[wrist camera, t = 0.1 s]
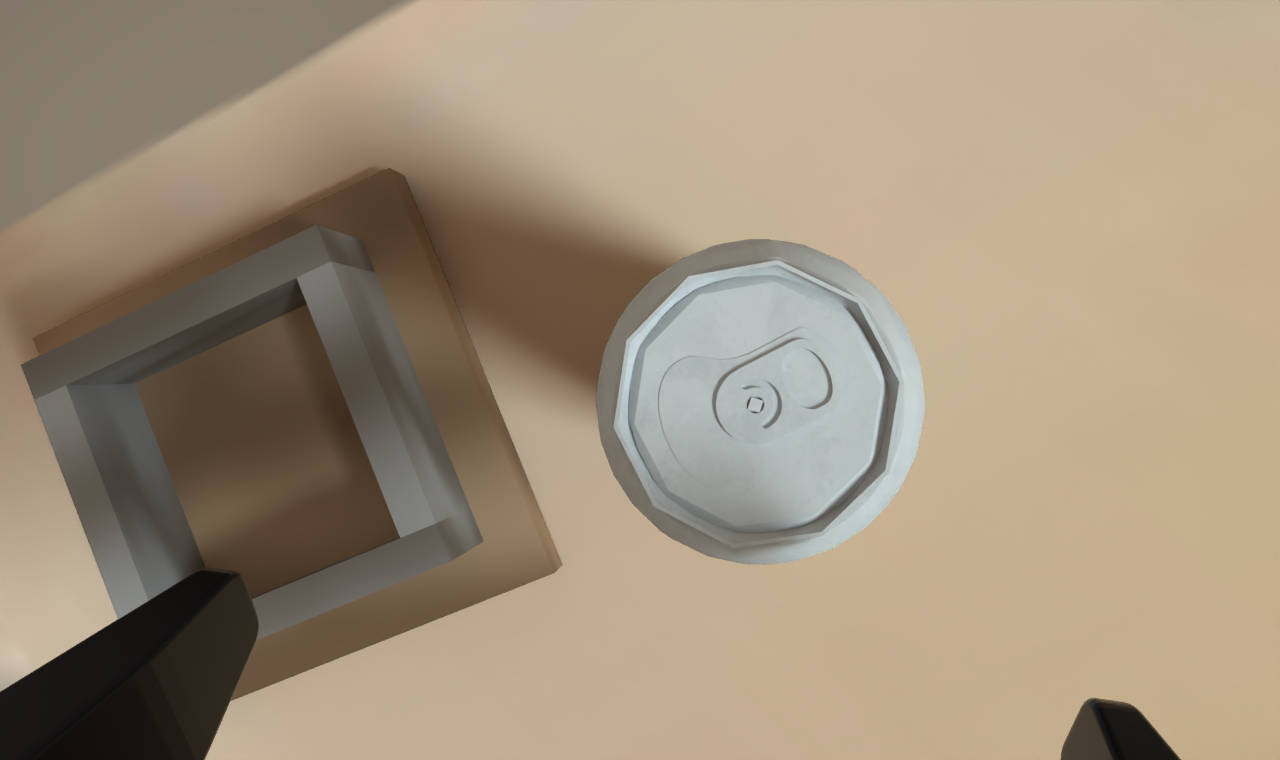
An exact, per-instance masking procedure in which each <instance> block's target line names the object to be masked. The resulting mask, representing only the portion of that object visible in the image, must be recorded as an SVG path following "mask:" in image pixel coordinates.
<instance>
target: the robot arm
mask: <svg viewBox="0 0 1280 760" xmlns="http://www.w3.org/2000/svg"><path fill="white" fill-rule="evenodd" d="M258 631H259V619H258V616H257V613H256V610H255V607H254V604H253V601H252V598H251V596H250V593H249V590H248V587H247V584H246V581H245V579H244V577H243V576H242V575H241V574H240V573H239V572H236V571H232V570H225V569H218V568H203V569H200V570H198V571H196V572H194V573H193V574H191V575H189V576H188V577H186V578H184V579H183V580H181V581H180V582H178V583H176V584H175V585H173V586H171V587H170V588H168V589H167V590H165V591H163V592H162V593H160V594H158V595H157V596H155V597H154V598H152V599H150V600H149V601H147V602H145V603H144V604H142V605H141V606H139V607H137V608H136V609H134V610H132V611H131V612H129V613H128V614H126V615H124V616H123V617H121V618H119V619H118V620H116V621H115V622H113V623H111V624H110V625H108V626H106V627H105V628H103V629H102V630H100V631H98V632H97V633H95V634H93V635H92V636H90V637H89V638H87V639H85V640H84V641H82V642H80V643H79V644H77V645H76V646H74V647H72V648H71V649H69V650H67V651H66V652H64V653H63V654H61V655H59V656H58V657H56V658H54V659H53V660H51V661H49V662H48V663H46V664H45V665H43V666H41V667H40V668H38V669H36V670H35V671H33V672H32V673H30V674H28V675H27V676H25V677H23V678H22V679H20V680H19V681H17V682H15V683H14V684H12V685H10V686H9V687H7V688H6V689H4V690H2V691H1V692H0V760H205V757H206V755H207V753H208V751H209V749H210V747H211V744H212V742H213V740H214V737H215V735H216V733H217V731H218V728H219V726H220V724H221V721H222V719H223V717H224V714H225V712H226V710H227V707H228V705H229V703H230V700H231V698H232V696H233V693H234V691H235V689H236V687H237V684H238V682H239V680H240V677H241V675H242V673H243V670H244V668H245V666H246V663H247V661H248V659H249V656H250V654H251V652H252V649H253V647H254V645H255V642H256V639H257V636H258ZM1061 760H1181V759H1180V758H1179V757H1178V756H1177V755H1176V753H1175V752H1174V751H1173V750H1172V749H1171V747H1170V746H1169V745H1168V744H1167V743H1166V741H1165V740H1164V739H1163V738H1162V737H1161V736H1160V734H1159V733H1158V732H1157V731H1156V730H1155V728H1154V727H1153V726H1152V725H1151V724H1150V722H1149V721H1148V720H1147V719H1146V718H1145V717H1144V715H1143V714H1142V713H1141V712H1140V711H1139V710H1138V709H1137V708H1135V707H1134V706H1132V705H1131V704H1128V703H1125V702H1118V701H1111V700H1105V699H1098V698H1090V699H1088V700H1087V701H1085V702H1084V704H1083V705H1082V707H1081V709H1080V711H1079V713H1078V715H1077V717H1076V719H1075V721H1074V724H1073V726H1072V728H1071V730H1070V732H1069V734H1068V736H1067V738H1066V740H1065V742H1064V745H1063V748H1062V753H1061Z"/></svg>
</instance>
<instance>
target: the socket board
mask: <svg viewBox="0 0 1280 760" xmlns="http://www.w3.org/2000/svg"><path fill="white" fill-rule="evenodd" d="M33 339H34V342H35V344H36V347H37V350H38V352H39V355H40V356H38V357H36V358H34V359H32V360H30V361H28V362H26V363H24V364H22V365H21V366H22V369H23V371H24V374H25V377H26V379H27V382H28V384H29V387H30V390H31V392H32V395H33V398H34V400H35V403H36V405H37V408H38V411H39V413H40V416H41V418H42V421H43V424H44V426H45V429H46V432H47V434H48V437H49V439H50V442H51V445H52V447H53V450H54V453H55V455H56V458H57V460H58V463H59V466H60V468H61V471H62V473H63V476H64V479H65V481H66V484H67V487H68V489H69V492H70V494H71V497H72V500H73V502H74V505H75V508H76V510H77V513H78V515H79V518H80V521H81V523H82V526H83V528H84V531H85V534H86V536H87V539H88V542H89V544H90V547H91V549H92V552H93V555H94V557H95V560H96V562H97V565H98V568H99V570H100V573H101V576H102V578H103V581H104V583H105V586H106V589H107V591H108V594H109V597H110V599H111V602H112V604H113V607H114V610H115V612H116V615H117V617H118V619H119V618H121V617H123V616H124V615H126V614H128V613H129V612H131V611H132V610H134V609H136V608H137V607H139V606H141V605H142V604H144V603H145V602H147V601H149V600H150V599H152V598H154V597H155V596H157V595H158V594H160V593H162V592H163V591H165V590H167V589H168V588H170V587H171V586H173V585H175V584H176V583H178V582H180V581H181V580H183V579H184V578H186V577H188V576H189V575H191V574H193V573H194V572H196V571H198V570H200V569H203V568H218V569H225V570H232V571H236V572H239V573H240V574H241V575H242V576H243V577H244V579H245V581H246V584H247V587H248V590H249V593H250V596H251V598H252V601H253V604H254V607H255V610H256V613H257V616H258V619H259V631H258V636H257V639H256V642H255V645H254V647H253V649H252V652H251V654H250V656H249V659H248V661H247V663H246V666H245V668H244V670H243V673H242V675H241V677H240V680H239V682H238V684H237V687H236V689H235V691H234V693H233V696H232V698H231V700H230V701H232V700H234V699H237V698H239V697H242V696H244V695H247V694H249V693H252V692H254V691H257V690H259V689H262V688H264V687H267V686H270V685H272V684H275V683H277V682H280V681H282V680H285V679H287V678H290V677H292V676H295V675H297V674H300V673H302V672H305V671H308V670H310V669H313V668H315V667H318V666H320V665H323V664H325V663H328V662H330V661H333V660H335V659H338V658H340V657H343V656H345V655H348V654H351V653H353V652H356V651H358V650H361V649H363V648H366V647H368V646H371V645H373V644H376V643H378V642H381V641H383V640H386V639H388V638H391V637H394V636H396V635H399V634H401V633H404V632H406V631H409V630H411V629H414V628H416V627H419V626H421V625H424V624H426V623H429V622H431V621H434V620H437V619H439V618H442V617H444V616H447V615H449V614H452V613H454V612H457V611H459V610H462V609H464V608H467V607H469V606H472V605H474V604H477V603H480V602H482V601H485V600H487V599H490V598H492V597H495V596H497V595H500V594H502V593H505V592H507V591H510V590H512V589H515V588H517V587H520V586H523V585H525V584H528V583H530V582H533V581H535V580H538V579H540V578H543V577H545V576H548V575H550V574H553V573H555V572H556V571H557V570H558V569H559V568H560V567H561V566H562V562H561V560H560V558H559V555H558V553H557V550H556V548H555V545H554V543H553V540H552V538H551V535H550V533H549V530H548V528H547V526H546V523H545V521H544V518H543V516H542V513H541V511H540V508H539V506H538V503H537V501H536V499H535V496H534V494H533V491H532V489H531V486H530V484H529V481H528V479H527V476H526V474H525V471H524V469H523V467H522V464H521V462H520V459H519V457H518V454H517V452H516V449H515V447H514V444H513V442H512V440H511V437H510V435H509V432H508V430H507V427H506V425H505V422H504V420H503V417H502V415H501V413H500V410H499V408H498V405H497V403H496V400H495V398H494V395H493V393H492V390H491V388H490V385H489V383H488V381H487V378H486V376H485V373H484V371H483V368H482V366H481V363H480V361H479V358H478V356H477V354H476V351H475V349H474V346H473V344H472V341H471V339H470V336H469V334H468V331H467V329H466V326H465V324H464V322H463V319H462V317H461V314H460V312H459V309H458V307H457V304H456V302H455V299H454V297H453V295H452V292H451V290H450V287H449V285H448V282H447V280H446V277H445V275H444V272H443V270H442V267H441V265H440V263H439V260H438V258H437V255H436V253H435V250H434V248H433V245H432V243H431V240H430V238H429V236H428V233H427V231H426V228H425V226H424V223H423V221H422V218H421V216H420V213H419V211H418V209H417V206H416V204H415V201H414V199H413V196H412V194H411V191H410V189H409V186H408V184H407V181H406V179H405V177H404V175H402V174H400V173H398V172H396V171H394V170H393V169H391V168H388V169H386V170H384V171H381V172H379V173H377V174H375V175H373V176H371V177H369V178H367V179H365V180H363V181H361V182H358V183H356V184H354V185H352V186H350V187H348V188H346V189H344V190H342V191H340V192H338V193H335V194H333V195H331V196H329V197H327V198H325V199H323V200H321V201H319V202H317V203H315V204H312V205H310V206H308V207H306V208H304V209H302V210H300V211H298V212H296V213H294V214H292V215H289V216H287V217H285V218H283V219H281V220H279V221H277V222H275V223H273V224H271V225H269V226H266V227H264V228H262V229H260V230H258V231H256V232H254V233H252V234H250V235H248V236H246V237H243V238H241V239H239V240H237V241H235V242H233V243H231V244H229V245H227V246H225V247H223V248H220V249H218V250H216V251H214V252H212V253H210V254H208V255H206V256H204V257H202V258H200V259H197V260H195V261H193V262H191V263H189V264H187V265H185V266H183V267H181V268H179V269H177V270H174V271H172V272H170V273H168V274H166V275H164V276H162V277H160V278H158V279H156V280H154V281H151V282H149V283H147V284H145V285H143V286H141V287H139V288H137V289H135V290H133V291H131V292H128V293H126V294H124V295H122V296H120V297H118V298H116V299H114V300H112V301H110V302H108V303H105V304H103V305H101V306H99V307H97V308H95V309H93V310H91V311H89V312H87V313H85V314H82V315H80V316H78V317H76V318H74V319H72V320H70V321H68V322H66V323H64V324H62V325H59V326H57V327H55V328H53V329H51V330H49V331H47V332H45V333H43V334H41V335H39V336H36V337H34V338H33Z"/></svg>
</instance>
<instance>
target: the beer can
mask: <svg viewBox="0 0 1280 760" xmlns="http://www.w3.org/2000/svg"><path fill="white" fill-rule="evenodd" d="M596 407H597V415H598V423H599V432H600V438H601V442H602V446H603V448H604V451H605V453H606V456H607V459H608V461H609V464H610V467H611V469H612V472H613V474H614V476H615V478H616V479H617V481H618V482H619V484H620V485H621V487H622V488H623V490H624V492H625V493H626V495H627V496H628V498H629V499H630V501H631V502H632V504H633V505H634V506H635V507H636V508H637V509H638V510H639V511H640V512H641V513H642V514H643V515H644V516H645V517H647V518H648V519H649V520H650V521H651V522H652V523H653V524H654V525H655V526H656V527H657V528H658V529H659V530H660V531H661V532H663V533H664V534H666V535H667V536H669V537H670V538H672V539H673V540H675V541H678V542H680V543H682V544H684V545H686V546H688V547H690V548H692V549H694V550H696V551H698V552H700V553H702V554H704V555H707V556H710V557H714V558H719V559H723V560H728V561H733V562H737V563H742V564H761V565H766V564H776V563H786V562H793V561H798V560H801V559H804V558H807V557H810V556H813V555H816V554H818V553H821V552H824V551H827V550H830V549H833V548H834V547H836V546H837V545H839V544H841V543H842V542H844V541H845V540H847V539H849V538H850V537H852V536H853V535H855V534H857V533H858V532H860V531H862V530H863V529H864V528H865V527H867V526H868V525H869V524H870V523H871V522H872V521H873V520H874V519H875V518H876V517H877V516H878V515H879V514H880V513H881V512H882V511H883V510H884V509H885V508H886V507H887V506H888V504H889V503H890V501H891V500H892V499H893V497H894V496H895V495H896V493H897V492H898V491H899V489H900V487H901V485H902V483H903V481H904V479H905V478H906V476H907V473H908V471H909V469H910V467H911V465H912V463H913V461H914V459H915V456H916V453H917V448H918V443H919V439H920V434H921V429H922V424H923V419H924V409H925V399H924V391H923V383H922V372H921V367H920V362H919V359H918V356H917V354H916V351H915V349H914V346H913V344H912V341H911V339H910V336H909V333H908V331H907V328H906V326H905V325H904V323H903V322H902V320H901V319H900V317H899V316H898V314H897V313H896V311H895V310H894V308H893V307H892V305H891V304H890V302H889V301H888V299H887V298H886V297H885V296H884V295H883V294H882V293H881V292H880V291H879V290H878V289H877V288H876V287H875V286H874V285H873V284H872V283H871V282H869V281H868V280H867V279H865V278H864V277H863V276H862V275H861V274H860V273H859V272H857V271H856V270H855V269H854V268H852V267H851V266H849V265H848V264H846V263H845V262H843V261H841V260H839V259H836V258H834V257H831V256H829V255H827V254H824V253H822V252H819V251H817V250H815V249H812V248H810V247H807V246H805V245H801V244H796V243H790V242H785V241H775V240H769V239H753V240H742V241H736V242H730V243H724V244H719V245H714V246H712V247H709V248H707V249H704V250H702V251H700V252H697V253H695V254H692V255H690V256H687V257H685V258H683V259H681V260H679V261H678V262H676V263H675V264H673V265H672V266H670V267H669V268H667V269H666V270H664V271H663V272H662V273H660V274H659V275H657V276H656V277H654V278H653V279H652V280H651V281H650V282H649V283H648V284H647V285H646V286H645V287H644V288H643V289H642V290H641V291H640V292H639V293H638V294H637V295H636V297H635V298H634V299H633V300H632V301H631V302H630V303H629V305H628V306H627V308H626V309H625V310H624V312H623V313H622V315H621V316H620V318H619V319H618V322H617V324H616V326H615V328H614V330H613V332H612V334H611V336H610V339H609V341H608V343H607V346H606V348H605V350H604V354H603V358H602V364H601V369H600V374H599V379H598V385H597V391H596Z"/></svg>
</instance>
